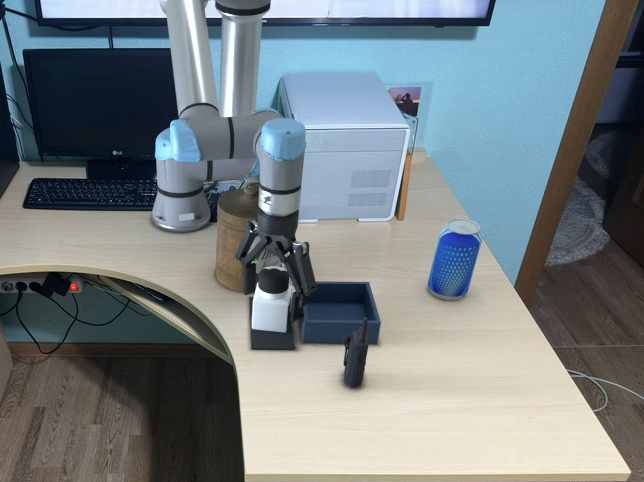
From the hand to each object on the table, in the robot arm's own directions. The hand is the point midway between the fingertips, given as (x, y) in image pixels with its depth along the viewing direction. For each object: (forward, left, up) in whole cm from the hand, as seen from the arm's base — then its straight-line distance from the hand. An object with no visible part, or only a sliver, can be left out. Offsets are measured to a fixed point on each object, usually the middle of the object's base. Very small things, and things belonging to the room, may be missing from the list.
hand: (272, 305), depth 136 cm
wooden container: (-18, -4, -5) cm, 19 cm away
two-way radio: (+18, +14, -5) cm, 23 cm away
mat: (0, 0, -4) cm, 4 cm away
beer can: (-12, +39, -5) cm, 41 cm away
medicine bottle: (0, 0, -4) cm, 4 cm away
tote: (0, +13, -4) cm, 14 cm away
